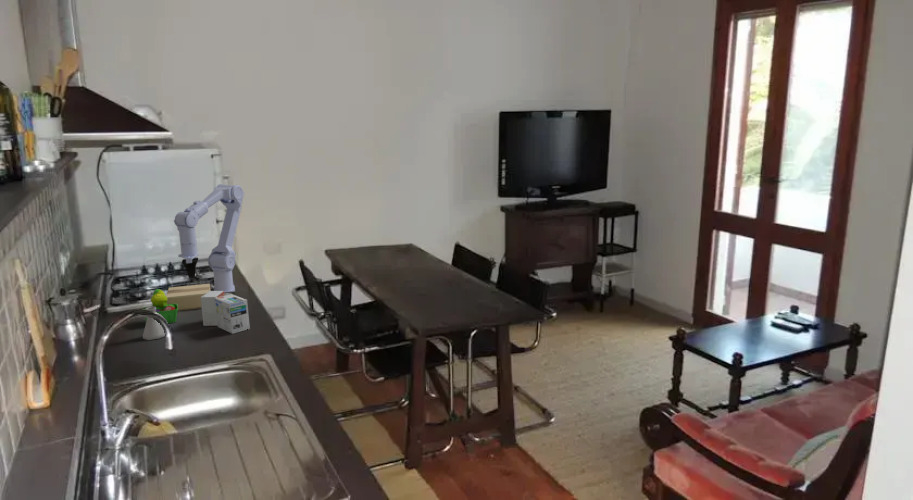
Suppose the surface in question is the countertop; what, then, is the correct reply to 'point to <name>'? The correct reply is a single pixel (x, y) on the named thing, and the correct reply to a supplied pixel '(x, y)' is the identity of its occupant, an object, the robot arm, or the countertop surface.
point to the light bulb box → (232, 313)
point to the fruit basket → (164, 306)
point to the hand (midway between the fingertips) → (192, 277)
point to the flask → (152, 328)
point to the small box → (210, 307)
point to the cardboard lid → (188, 291)
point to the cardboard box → (186, 302)
